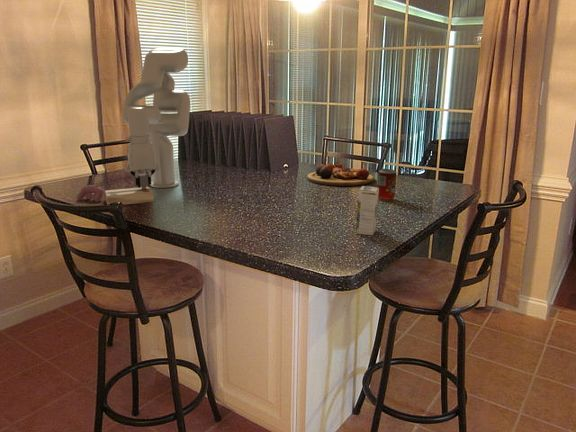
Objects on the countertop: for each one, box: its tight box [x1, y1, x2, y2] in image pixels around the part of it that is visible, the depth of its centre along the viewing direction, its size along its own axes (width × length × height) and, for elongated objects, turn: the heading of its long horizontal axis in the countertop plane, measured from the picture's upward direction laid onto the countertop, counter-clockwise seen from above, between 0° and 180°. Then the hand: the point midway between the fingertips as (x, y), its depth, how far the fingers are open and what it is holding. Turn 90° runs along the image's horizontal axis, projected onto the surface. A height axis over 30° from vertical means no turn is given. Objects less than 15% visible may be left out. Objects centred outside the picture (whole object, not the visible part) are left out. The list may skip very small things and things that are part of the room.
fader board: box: [104, 186, 155, 205], centre depth 188 cm, size 9×17×4 cm, turn 115°
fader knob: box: [138, 172, 149, 189], centre depth 189 cm, size 5×3×6 cm, turn 25°
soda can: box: [377, 168, 398, 202], centre depth 194 cm, size 7×7×12 cm
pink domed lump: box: [76, 184, 105, 203], centre depth 189 cm, size 10×5×7 cm, turn 72°
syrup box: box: [355, 185, 379, 236], centre depth 153 cm, size 6×6×14 cm
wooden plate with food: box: [306, 161, 375, 187], centre depth 231 cm, size 32×32×8 cm
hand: (143, 186), depth 190 cm, fingers closed on fader knob, 3 cm apart
